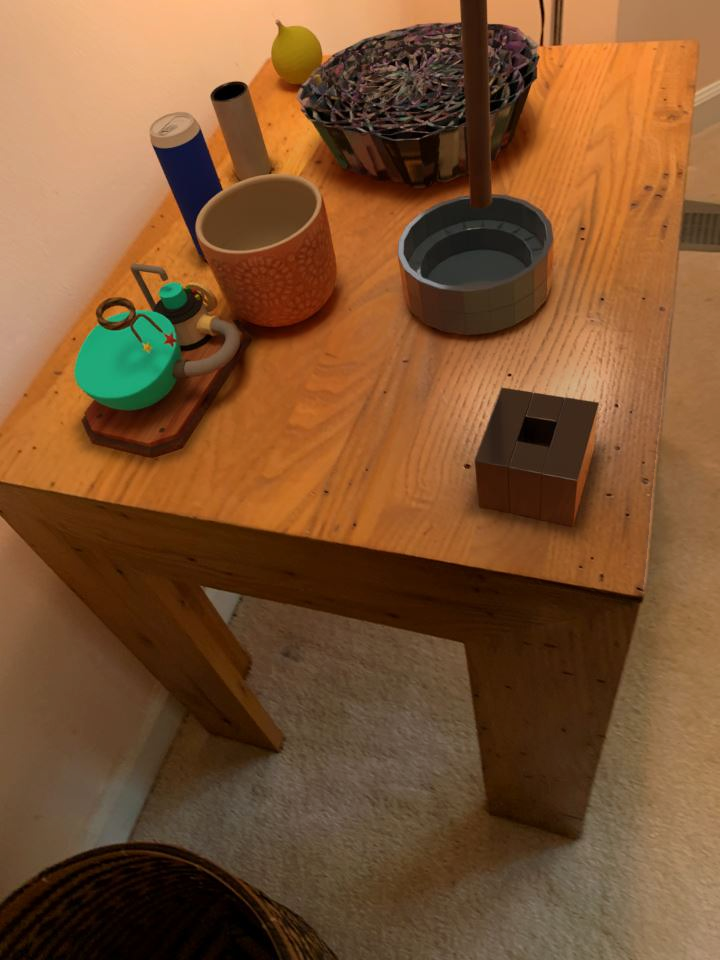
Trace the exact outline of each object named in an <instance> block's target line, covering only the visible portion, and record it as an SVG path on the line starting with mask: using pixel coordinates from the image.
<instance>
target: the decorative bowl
mask: <svg viewBox="0 0 720 960" xmlns="http://www.w3.org/2000/svg"><path fill="white" fill-rule="evenodd" d="M538 49H539V44H538V43H537V42H536V41H535V40H534V39H533V38H532V37H531V36H530V35H527V34H525V33H524V32H523V31H522V30H521V29H520V28H519V27H517V26H511V25H508V24H503V23H488V61H489V101H490V140H491V163H492V162H494V161H495V160H496V158H497V157H498V155H499V153H500V152H501V151H503V150H505V149H507V148H508V147H509V146H510V145H511V144H512V142H513V139H514V137H515V133H516V130H517V128H518V125H519V122H520V119H521V116H522V113H523V112H524V111H523V110H524V108H525V105H526V102H527V99H528V97H529V93H530V91H531V88H532V85H533V83H534V82H535V81H537V79H538V62H539V60H540V57H541V56H540V55H539V54H538ZM296 100H297V101H298V103H299V104H300V105H301V106H300V111H301V113H302V114H303V115H304V116H305V118H306V119H307V120H308V121H310V122H311V123H312V125H313V126H314V128H315V130H316V131H317V133H318V134H319V136H320V137H321V139H322V140H323V142H324V143H325V145H326V147H327V148H328V150H329V151H330V153H331V155H332V156H333V158H334V159H335V161H336V162H337V164H338V165H339V166H340V168H341V169H343V170H346V171H351V172H353V173H354V174H355V175H361V176H369V177H370V178H371V179H372V180H374V181H378V182H390V181H392V182H394V183H398V184H406V185H408V186H410V187H411V188H413V189H426V188H429V187H432V186H433V185H435V183H437V182H440V183H447V182H448V183H449V182H451V181H452V180H454V179H458V178H467V177H468V178H469V165H468V146H467V127H466V108H465V89H464V70H463V50H462V31H461V21H457V22H428V23H419V24H418V23H417V24H414V25H410V26H406V27H402V28H397V29H393V30H389V31H386V32H383V33H379V34H376V35H373V36H369V37H366V38H362V39H361V40H359V41H357V42H355V43H353V44H352V45H350V46H348V47H345V48H343V49H341V50H339V51H337V52H335V53H333V54H332V55H331V56H330V57H328V59H327V60H325V61H323V62H322V64H321V65H320V66H319V67H318V68H317V69H315V70H314V71H313V72H312V73H311V76H310V78H309V79H308V80H307V81H305V82H304V83H303V84H300V86H299V89H298V92H297V94H296Z"/></svg>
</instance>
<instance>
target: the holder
mask: <svg viewBox="0 0 720 960" xmlns="http://www.w3.org/2000/svg"><path fill="white" fill-rule="evenodd" d="M599 405H600V403H599V402H598V401H592V400H585V399H579V398H572V397H564V396H558V395H553V394H546V393H539V392H532V391H527V390H520V389H514V388H509V387H500V389H499V393H498V396H497V398H496V401H495V404H494V406H493V409H492V412H491V413H490V417H489V420H488V422H487V426H486V427H485V431H484V434H483V436H482V440H481V441H480V444H479V447H478V450H477V452H476V455H475V458H474V468H475V470H474V471H475V478H476V479H475V480H476V481H475V482H476V491H477V501H478V506H479V507H481V508H486V509H490V510H495V511H500V512H505V513H510V514H513V515H519V516H522V517H528V518H532V519H537V520H541V521H546V522H550V523H556V524H560V525H563V526H569V527H574V525H575V522H576V517H577V514H578V510H579V508H580V507H579V506H580V503H581V499H582V495H583V492H584V488H585V485H586V480H587V477H588V473H589V469H590V465H591V461H592V458H593V454H594V448H595V439H596V431H597V422H598V414H599Z"/></svg>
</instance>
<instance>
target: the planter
mask: <svg viewBox="0 0 720 960" xmlns="http://www.w3.org/2000/svg"><path fill="white" fill-rule="evenodd" d="M195 230H196V235H197V239H198V242H199V245H200V247H201V249H202V251H203V254H204V256H205V258H206V259H205V260H206V262H207V264H208V267H209V269H210V271H211V273H212V275H213V277H214V279H215V281H216V283H217V285H218V287H219V290H220V292H221V294H222V296H223V298H224V299H225V301H226V302H227V304H228V305H229V307H230V309H232V311H233V312H234V313H235V314H237V315H238V316H239V318H242V319H243V320H245V321H247V322H249V323H251V324H254V325H256V326H261V327H267V328H282V327H287V326H292V325H296V324H299V323H300V322H303V321H305V320H307V319H309V318H311V317H312V316H313V315H315V314H316V313H317V312H318V311H319V310H320V309H322V308H323V306H324V305H326V304H327V301H329V299H330V297H331V295H332V293H333V292H334V288H335V286H336V282H337V276H338V274H337V273H338V268H337V267H338V266H337V258H336V253H335V248H334V243H333V239H332V234H331V228H330V223H329V218H328V213H327V208H326V204H325V201H324V197H323V195H322V193H321V191H320V189H319V187H318V186H317V185H316V184H315V183H314V182H313V181H311V180H309V179H308V178H305V177H303V176H300V175H296V174H291V173H269V174H267V175H261V176H256V177H252V178H249V179H246V180H243V181H241V180H240V181H237V182H236V183H234V184H231V185H230V186H228V187H226V188H223V190H222V191H221V192H219V193H218V194H217V195H215V196H214V197H213V198H212V199H211V200H209V201H208V202H207V203H206V205H205V206H204V207H203V208H202V210H201V211H200V213H199V215H198V217H197V220H196V225H195Z"/></svg>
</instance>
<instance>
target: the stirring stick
mask: <svg viewBox="0 0 720 960" xmlns="http://www.w3.org/2000/svg"><path fill="white" fill-rule="evenodd" d="M459 9H460V12H459V13H460V22H461V31H462V50H463V70H464V89H465V108H466V127H467V146H468V165H469V177H468V183H469V195H470V203H471V205H472V206H473V207H474V208H478V209H482V208H486V207H488V206H489V205H490V204H491V203H492V194H493V188H492V187H493V186H492V185H493V184H492V182H493V181H492V162H491V140H490V101H489V61H488V24H489V22H488V0H459Z"/></svg>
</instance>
